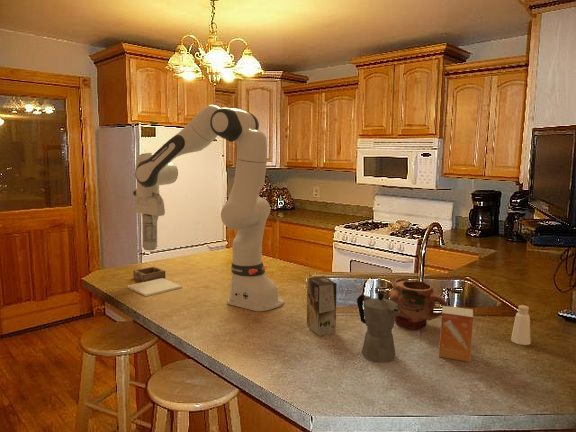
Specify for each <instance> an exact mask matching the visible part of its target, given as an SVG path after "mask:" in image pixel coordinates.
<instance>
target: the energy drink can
mask: <svg viewBox="0 0 576 432" xmlns="http://www.w3.org/2000/svg"><path fill="white" fill-rule="evenodd" d="M141 219H142V220H141V221H142V223H141V226H142V227H141V229H142V230H141V233H142V234H141V235H142V240H141V241H142V243H141V244H142V248H143V250H145V251H155V250H156V249H157V247H158V225H157V226H152V220H153V218H152V215H148V214H144V216H143V218H141Z"/></svg>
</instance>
